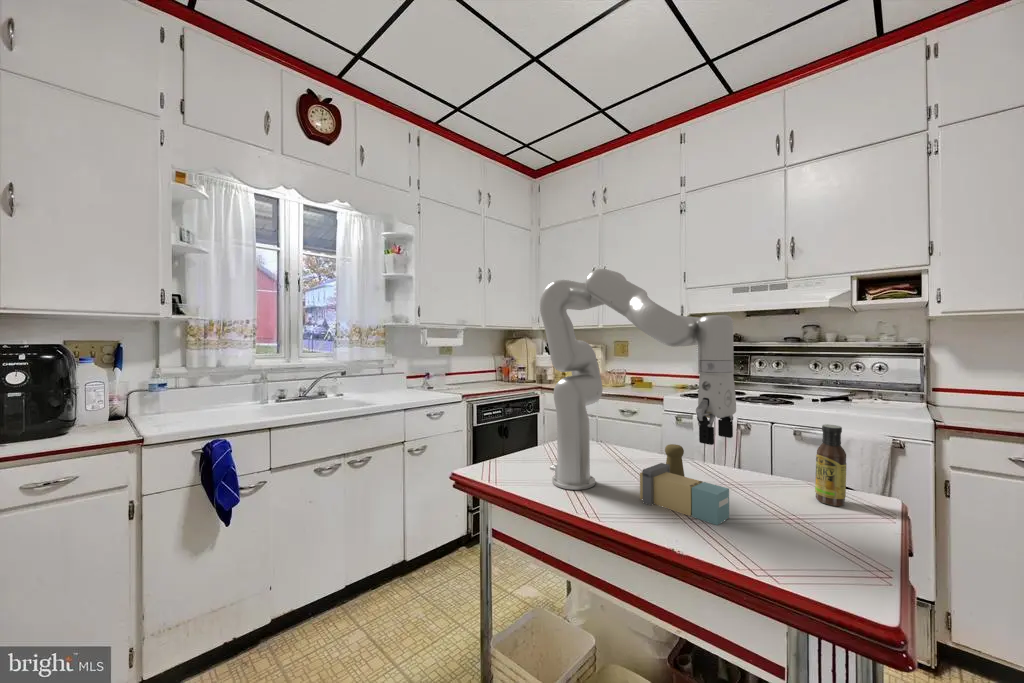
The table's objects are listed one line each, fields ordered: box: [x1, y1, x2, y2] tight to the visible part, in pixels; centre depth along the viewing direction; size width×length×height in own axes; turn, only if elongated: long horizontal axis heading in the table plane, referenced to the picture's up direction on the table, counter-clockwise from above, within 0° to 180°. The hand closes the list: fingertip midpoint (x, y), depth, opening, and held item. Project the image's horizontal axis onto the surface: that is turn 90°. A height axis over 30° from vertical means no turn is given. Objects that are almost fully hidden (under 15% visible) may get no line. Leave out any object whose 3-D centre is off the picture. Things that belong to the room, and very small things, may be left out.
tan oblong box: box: [639, 462, 704, 517], centre depth 108 cm, size 14×9×9 cm, turn 39°
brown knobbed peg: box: [664, 443, 686, 477], centre depth 124 cm, size 6×6×11 cm
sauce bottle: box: [814, 423, 847, 507], centre depth 108 cm, size 6×6×20 cm
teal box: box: [691, 481, 730, 526], centre depth 100 cm, size 6×6×7 cm
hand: (716, 440), depth 99 cm, fingers open, 9 cm apart
